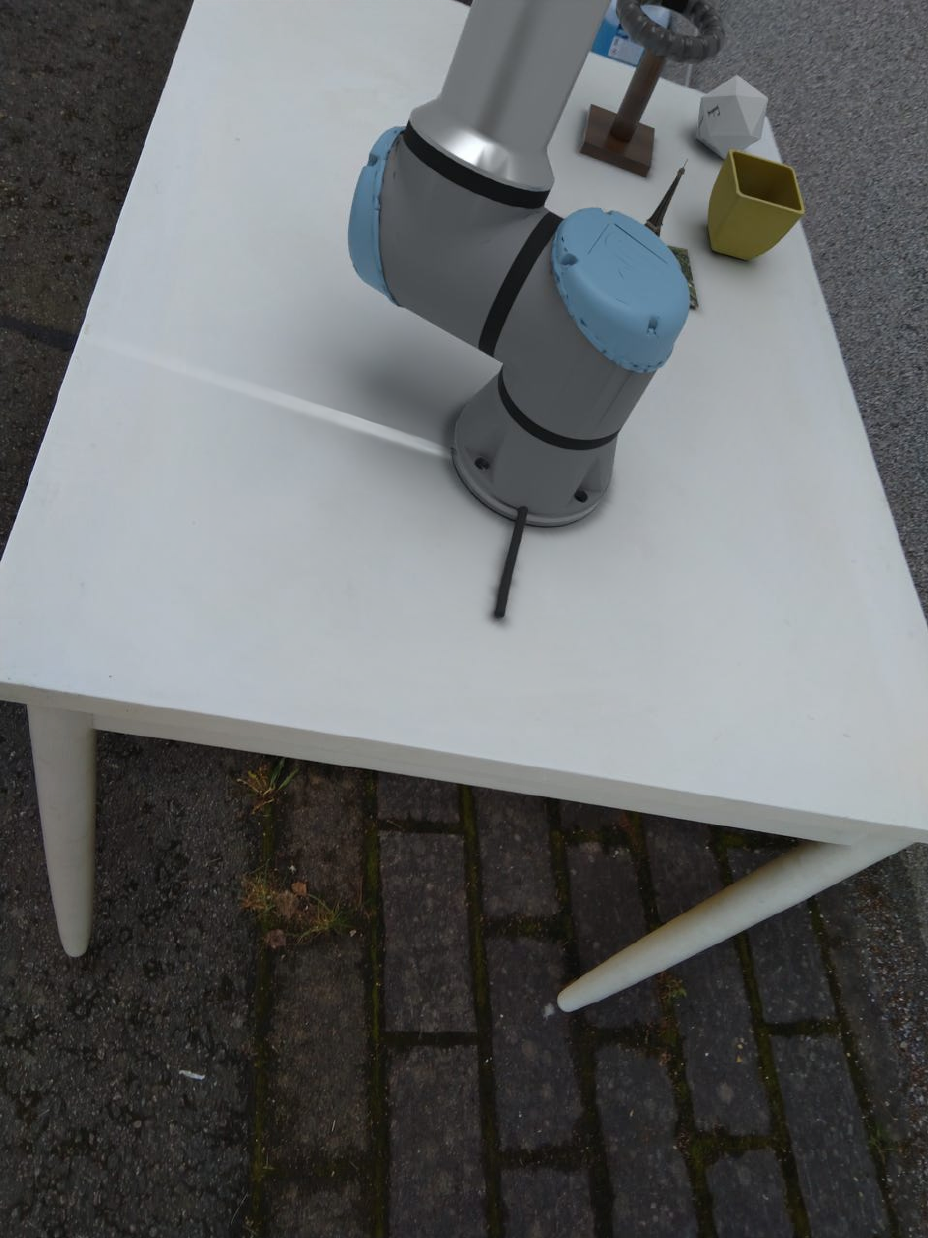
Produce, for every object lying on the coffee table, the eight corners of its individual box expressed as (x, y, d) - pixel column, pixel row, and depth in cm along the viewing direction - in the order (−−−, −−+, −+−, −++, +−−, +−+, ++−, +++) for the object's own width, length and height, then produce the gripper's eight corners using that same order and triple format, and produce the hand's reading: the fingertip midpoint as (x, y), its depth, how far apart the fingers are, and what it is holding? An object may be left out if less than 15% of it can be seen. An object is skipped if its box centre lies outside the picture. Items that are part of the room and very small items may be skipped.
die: (687, 120, 125) (693, 74, 115) (753, 101, 124) (764, 53, 114) (700, 177, 125) (707, 136, 115) (766, 159, 123) (779, 115, 113)
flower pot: (763, 276, 110) (806, 213, 103) (699, 258, 108) (738, 193, 101) (753, 230, 115) (794, 166, 107) (691, 212, 113) (728, 146, 105)
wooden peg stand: (645, 177, 114) (697, 71, 103) (579, 151, 113) (624, 42, 102) (650, 138, 119) (699, 33, 108) (586, 114, 118) (630, 5, 106)
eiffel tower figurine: (574, 282, 100) (625, 174, 89) (568, 223, 105) (614, 114, 94) (696, 309, 103) (759, 209, 92) (684, 251, 108) (743, 149, 97)
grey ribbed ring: (716, 82, 102) (728, 60, 100) (607, 41, 100) (617, 17, 98) (719, 21, 108) (730, -1, 106) (617, -18, 107) (626, -42, 104)
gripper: (749, -298, 90) (647, -41, 110) (749, -248, 82) (638, 21, 101) (816, -267, 91) (703, -18, 111) (823, -214, 83) (699, 45, 102)
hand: (672, 0), depth 106 cm, fingers closed on grey ribbed ring, 3 cm apart
